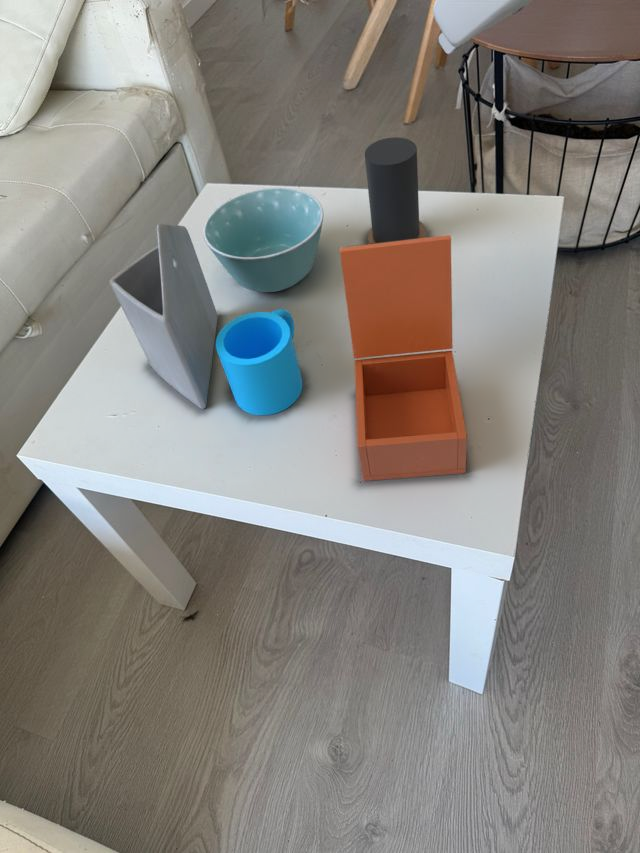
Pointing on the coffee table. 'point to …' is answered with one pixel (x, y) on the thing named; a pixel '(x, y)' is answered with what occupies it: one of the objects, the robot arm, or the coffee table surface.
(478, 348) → the coffee table surface
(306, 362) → the coffee table surface
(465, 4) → the robot arm
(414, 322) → the orange box lid
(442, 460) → the orange open box
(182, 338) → the planter
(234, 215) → the bowl
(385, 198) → the tapered grey cylinder
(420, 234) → the trivet
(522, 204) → the coffee table surface
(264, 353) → the mug
